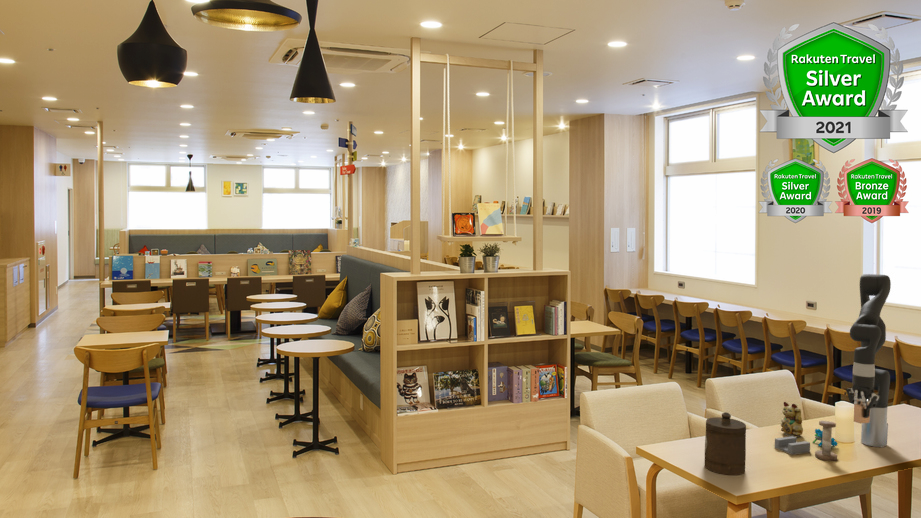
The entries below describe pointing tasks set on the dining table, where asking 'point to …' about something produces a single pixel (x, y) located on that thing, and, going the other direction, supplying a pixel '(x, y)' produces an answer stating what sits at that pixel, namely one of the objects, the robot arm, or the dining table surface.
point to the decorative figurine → (791, 420)
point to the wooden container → (725, 445)
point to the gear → (819, 437)
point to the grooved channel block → (792, 445)
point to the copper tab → (860, 414)
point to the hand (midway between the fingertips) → (861, 416)
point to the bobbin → (826, 442)
